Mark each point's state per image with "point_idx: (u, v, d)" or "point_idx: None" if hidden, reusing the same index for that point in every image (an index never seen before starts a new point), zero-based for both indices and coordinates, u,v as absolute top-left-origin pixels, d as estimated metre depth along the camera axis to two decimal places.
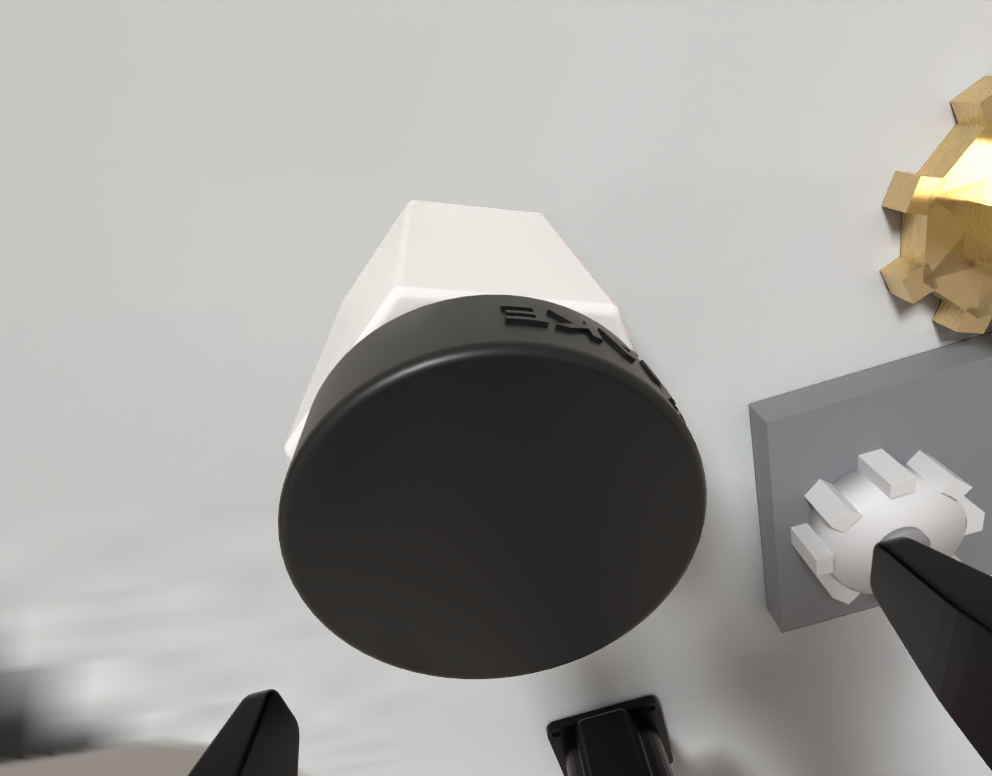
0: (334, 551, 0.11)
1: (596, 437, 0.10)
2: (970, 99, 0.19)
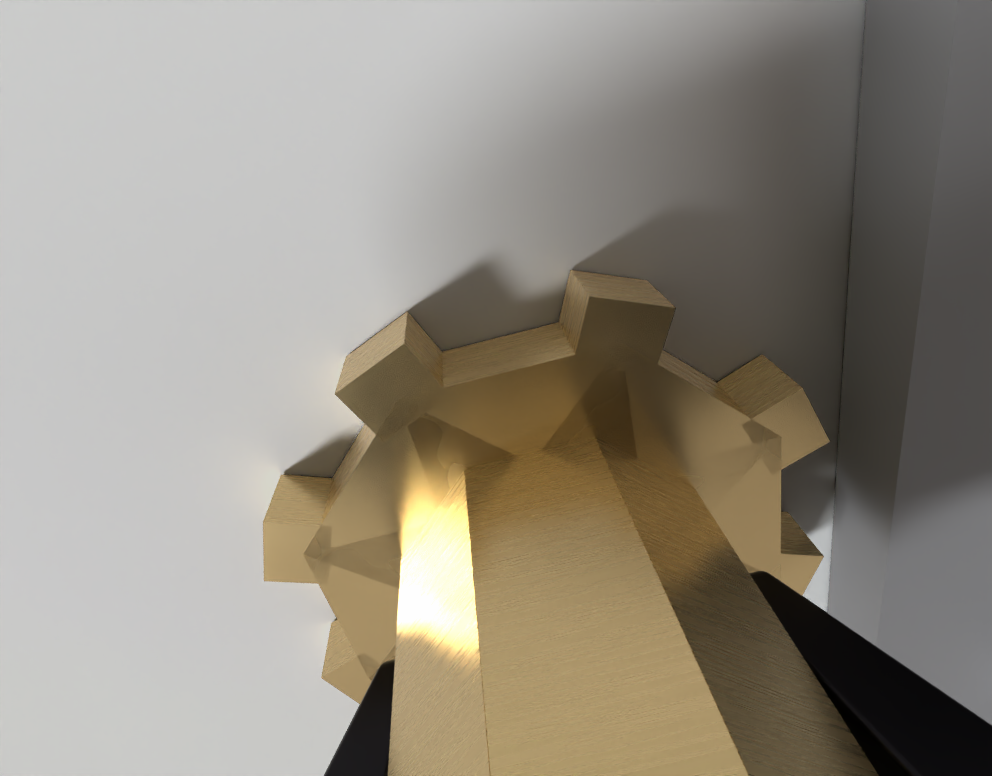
0: None
1: None
2: None
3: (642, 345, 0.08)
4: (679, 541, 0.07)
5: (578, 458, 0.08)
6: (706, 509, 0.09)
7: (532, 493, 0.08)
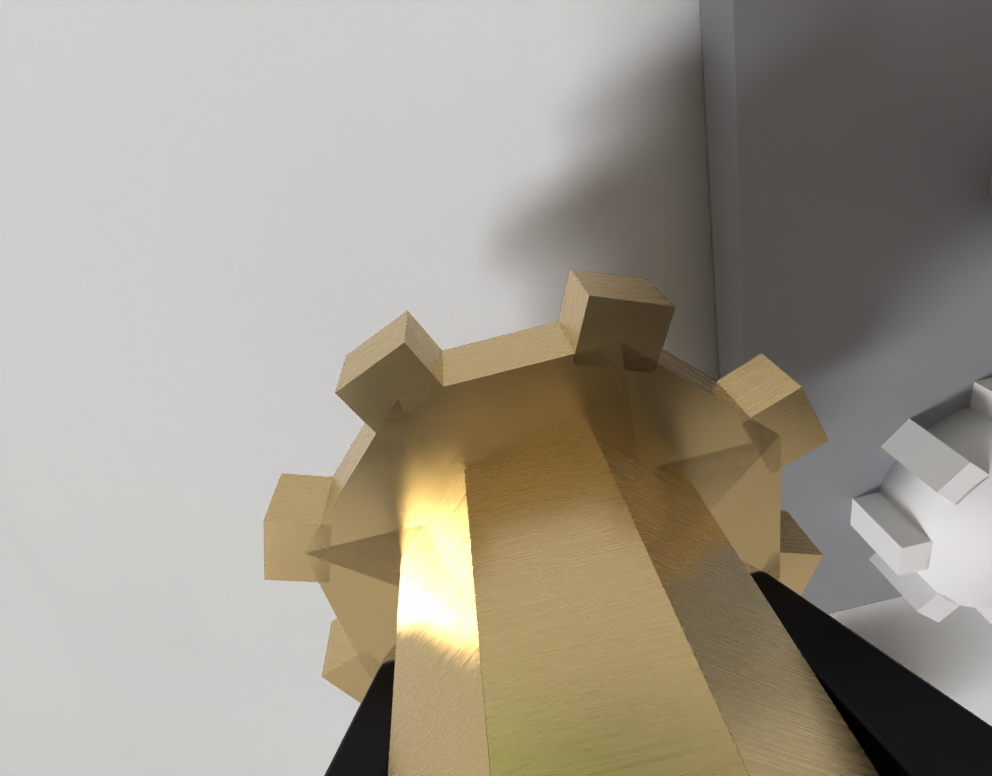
0: None
1: None
2: None
3: (642, 344, 0.08)
4: (679, 539, 0.07)
5: (578, 457, 0.08)
6: (706, 508, 0.09)
7: (532, 492, 0.08)
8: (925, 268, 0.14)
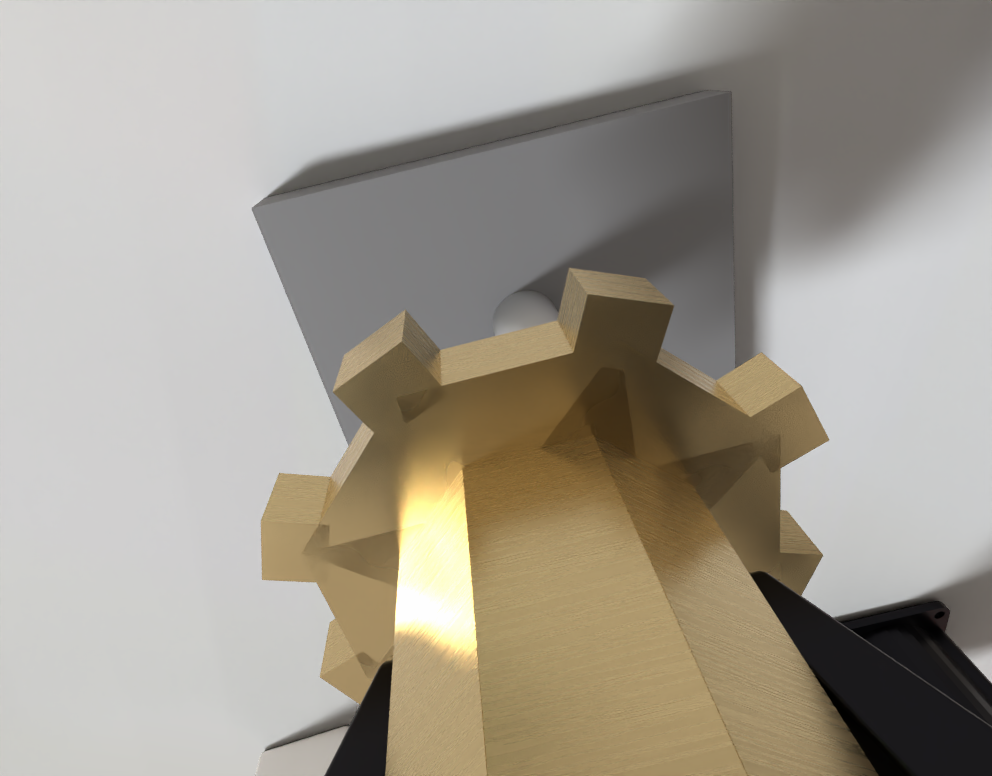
0: None
1: None
2: None
3: (640, 342, 0.08)
4: (678, 539, 0.07)
5: (577, 456, 0.08)
6: (705, 508, 0.09)
7: (530, 491, 0.08)
8: None
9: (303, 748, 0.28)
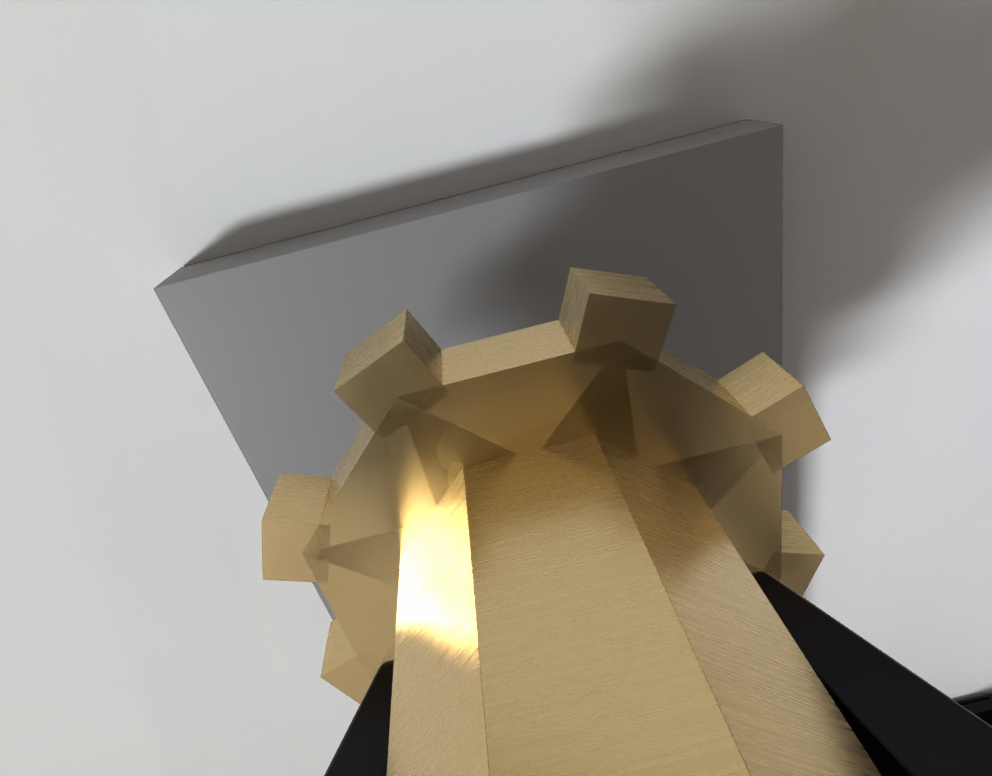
0: None
1: None
2: None
3: (642, 342, 0.08)
4: (680, 539, 0.07)
5: (578, 456, 0.08)
6: (707, 507, 0.09)
7: (532, 491, 0.08)
8: None
9: None
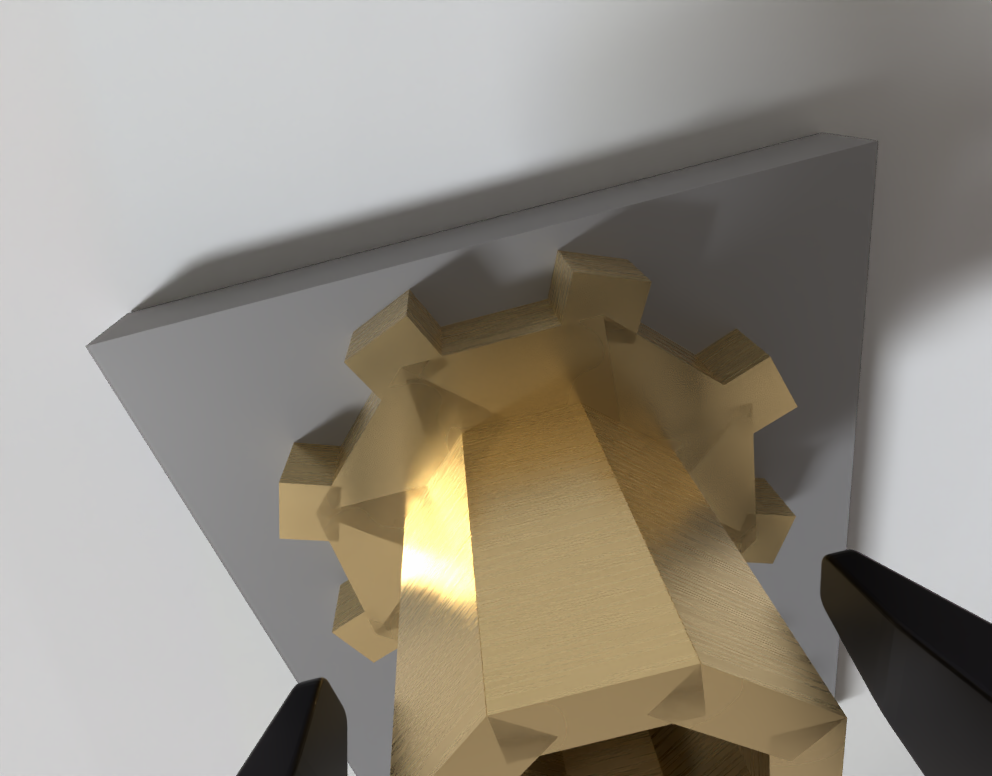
0: None
1: None
2: None
3: (622, 316, 0.09)
4: (654, 490, 0.08)
5: (565, 420, 0.09)
6: (683, 468, 0.10)
7: (523, 450, 0.09)
8: None
9: None
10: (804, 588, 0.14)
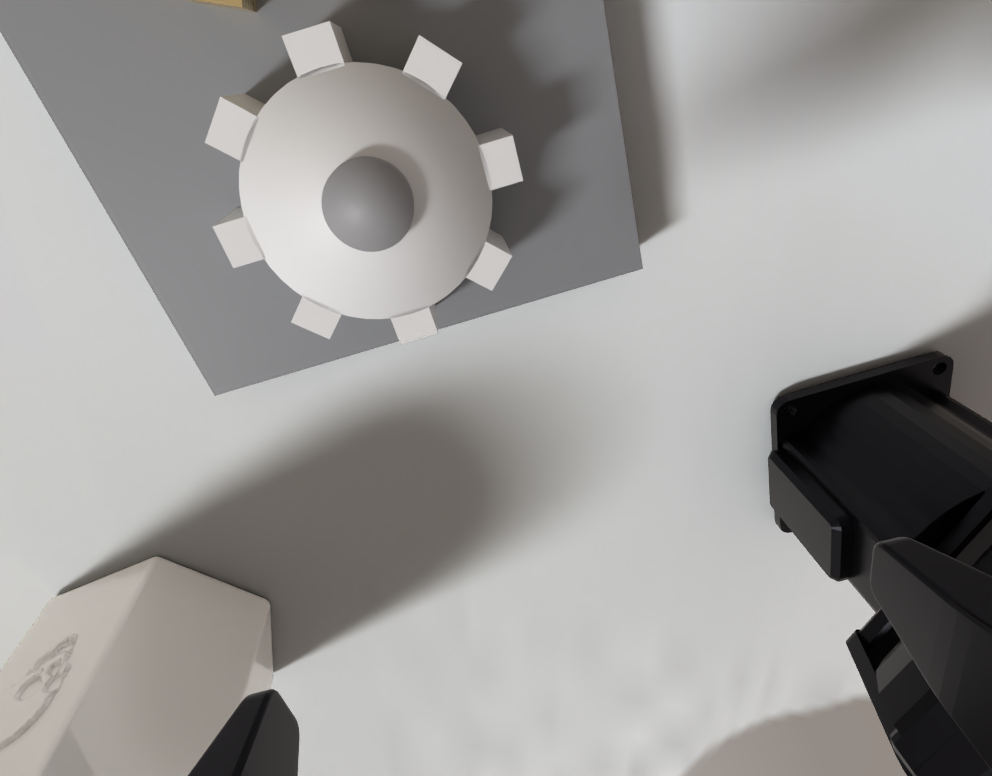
0: None
1: None
2: None
3: None
4: None
5: None
6: None
7: None
8: None
9: (98, 585, 0.21)
10: None
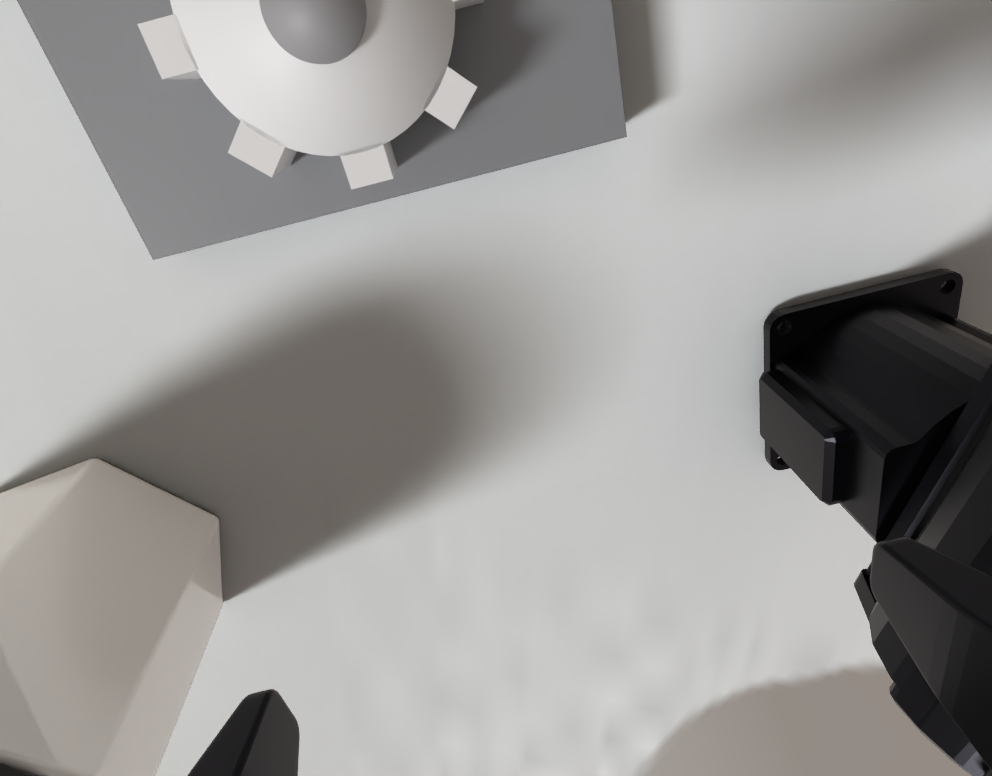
0: None
1: None
2: None
3: None
4: None
5: None
6: None
7: None
8: None
9: (31, 485, 0.20)
10: None
